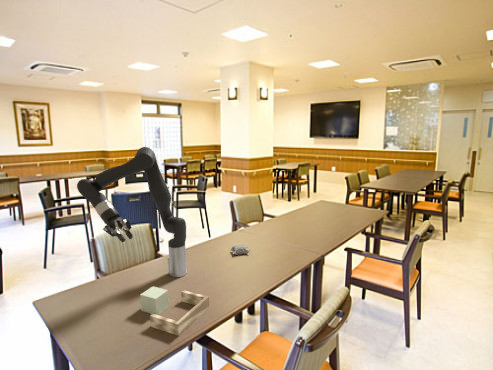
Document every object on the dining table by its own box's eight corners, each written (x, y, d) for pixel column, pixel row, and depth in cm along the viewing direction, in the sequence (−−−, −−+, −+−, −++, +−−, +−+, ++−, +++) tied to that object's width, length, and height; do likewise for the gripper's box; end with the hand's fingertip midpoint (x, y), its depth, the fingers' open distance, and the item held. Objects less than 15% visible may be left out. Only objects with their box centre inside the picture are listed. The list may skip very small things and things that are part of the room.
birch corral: (150, 326, 121) (149, 315, 120) (183, 299, 141) (183, 290, 140) (179, 336, 115) (178, 324, 114) (209, 306, 135) (208, 296, 134)
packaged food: (250, 254, 193) (250, 247, 192) (232, 256, 191) (232, 249, 190) (247, 250, 202) (247, 243, 201) (230, 252, 199) (230, 245, 198)
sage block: (141, 310, 133) (140, 294, 131) (154, 301, 140) (152, 286, 138) (157, 315, 129) (155, 298, 128) (169, 306, 136) (168, 290, 135)
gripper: (97, 210, 133) (119, 239, 130) (122, 204, 146) (142, 230, 143) (90, 220, 136) (111, 249, 133) (115, 213, 149) (135, 239, 146)
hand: (127, 239), depth 138 cm, fingers open, 3 cm apart
